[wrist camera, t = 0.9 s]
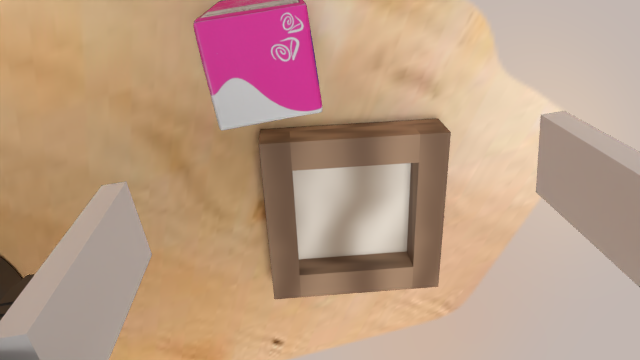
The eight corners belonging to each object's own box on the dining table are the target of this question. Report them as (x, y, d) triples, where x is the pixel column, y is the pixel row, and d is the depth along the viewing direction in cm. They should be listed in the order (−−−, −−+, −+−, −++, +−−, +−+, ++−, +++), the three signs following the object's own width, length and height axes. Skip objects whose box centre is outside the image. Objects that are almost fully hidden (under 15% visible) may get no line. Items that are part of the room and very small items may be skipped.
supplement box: (312, 69, 36) (324, 117, 25) (233, 82, 36) (213, 135, 25) (299, -14, 33) (307, 2, 23) (215, 0, 33) (184, 22, 23)
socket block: (275, 276, 43) (274, 299, 41) (260, 129, 37) (258, 144, 35) (428, 264, 44) (438, 286, 41) (438, 118, 38) (450, 132, 35)
